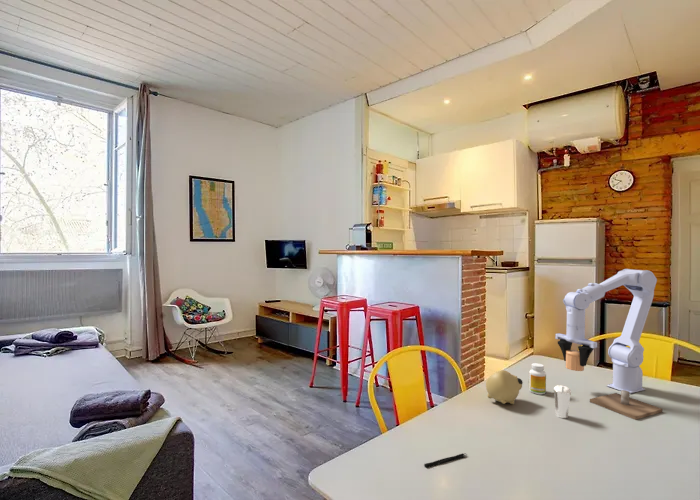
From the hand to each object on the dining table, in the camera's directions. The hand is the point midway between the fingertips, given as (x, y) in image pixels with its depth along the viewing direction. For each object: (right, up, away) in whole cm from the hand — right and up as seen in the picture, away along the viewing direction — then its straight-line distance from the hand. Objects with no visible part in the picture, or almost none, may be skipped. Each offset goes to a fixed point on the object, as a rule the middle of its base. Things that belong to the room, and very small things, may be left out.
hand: (574, 363), depth 137 cm
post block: (+8, -10, -14) cm, 19 cm away
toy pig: (-30, -10, -11) cm, 34 cm away
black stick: (-58, -10, -46) cm, 75 cm away
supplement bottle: (-15, -10, -2) cm, 18 cm away
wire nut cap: (0, -2, 0) cm, 2 cm away
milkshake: (-17, -10, -22) cm, 29 cm away
